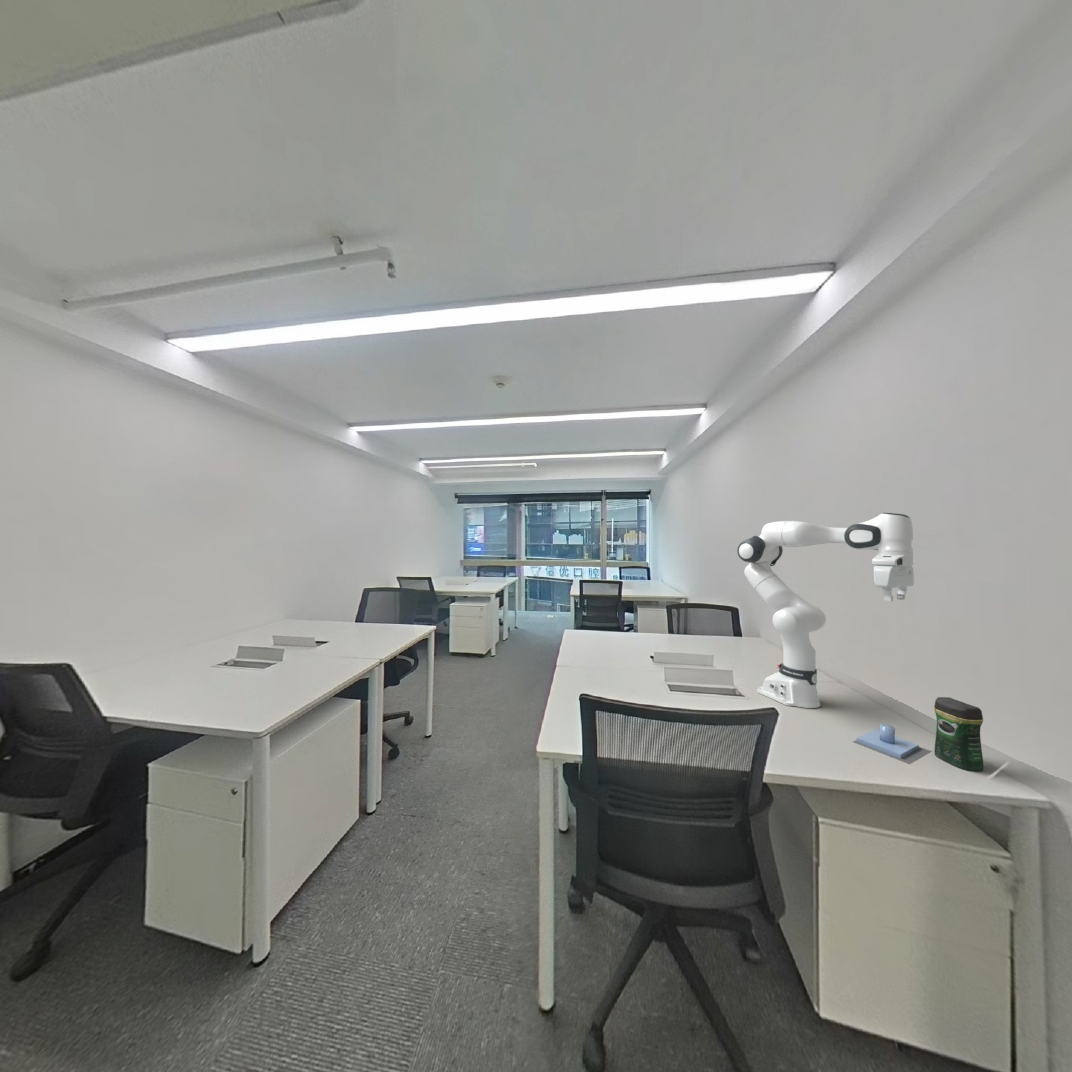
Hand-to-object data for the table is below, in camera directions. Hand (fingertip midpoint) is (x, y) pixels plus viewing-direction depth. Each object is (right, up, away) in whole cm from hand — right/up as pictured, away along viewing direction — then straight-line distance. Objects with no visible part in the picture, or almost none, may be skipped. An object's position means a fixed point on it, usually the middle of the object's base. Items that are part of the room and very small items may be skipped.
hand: (894, 600), depth 131 cm
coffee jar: (+3, -46, -17) cm, 49 cm away
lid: (-10, -45, -8) cm, 47 cm away
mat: (-9, -46, -9) cm, 47 cm away
